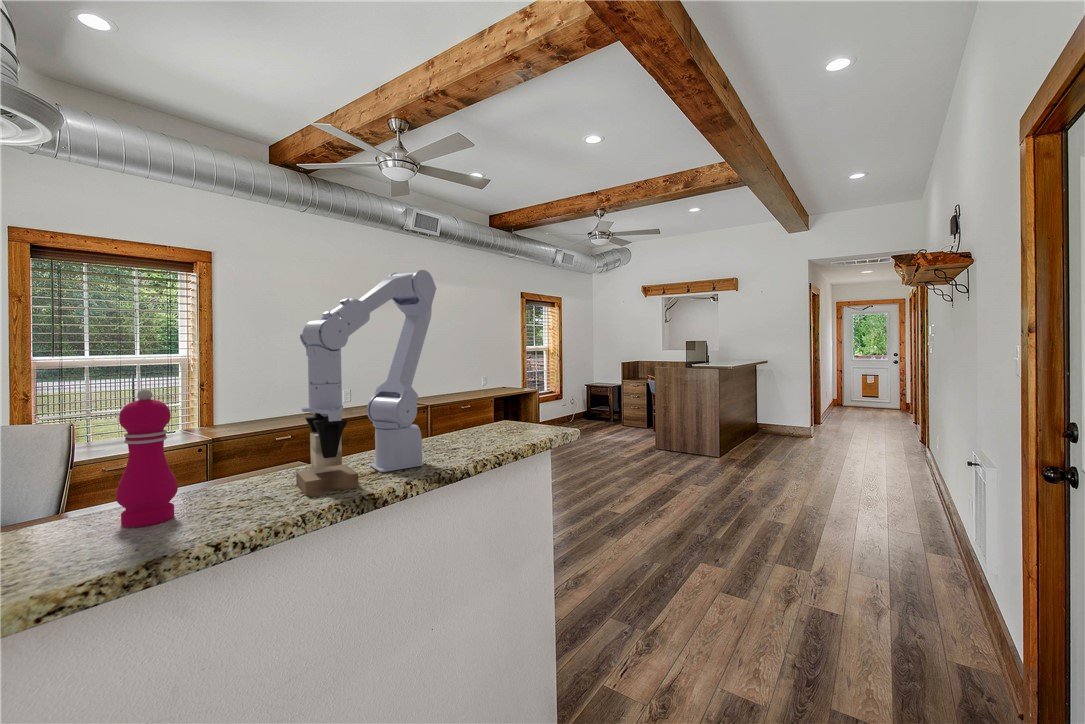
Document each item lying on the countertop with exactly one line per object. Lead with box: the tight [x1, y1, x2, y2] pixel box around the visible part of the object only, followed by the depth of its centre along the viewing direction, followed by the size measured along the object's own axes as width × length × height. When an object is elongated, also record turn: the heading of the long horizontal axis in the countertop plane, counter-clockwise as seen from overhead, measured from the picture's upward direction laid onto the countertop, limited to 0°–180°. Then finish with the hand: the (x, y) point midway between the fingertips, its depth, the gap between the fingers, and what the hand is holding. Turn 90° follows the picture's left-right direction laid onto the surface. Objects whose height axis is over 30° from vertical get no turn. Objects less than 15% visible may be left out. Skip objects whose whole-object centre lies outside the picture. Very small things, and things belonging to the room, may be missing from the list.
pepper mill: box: [115, 388, 179, 528], centre depth 72 cm, size 7×7×20 cm
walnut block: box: [295, 463, 359, 497], centre depth 90 cm, size 9×9×3 cm
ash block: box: [309, 431, 343, 469], centre depth 90 cm, size 4×4×6 cm
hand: (326, 454), depth 90 cm, fingers open, 5 cm apart
